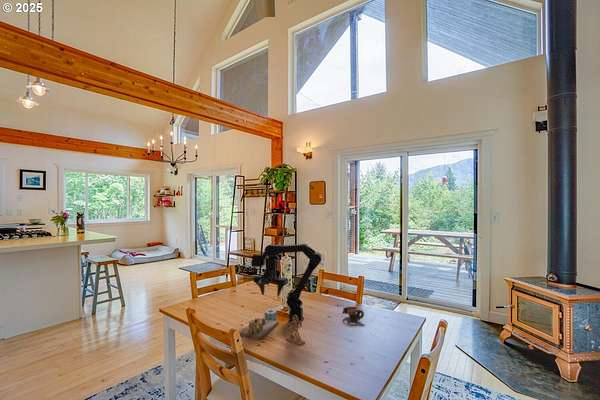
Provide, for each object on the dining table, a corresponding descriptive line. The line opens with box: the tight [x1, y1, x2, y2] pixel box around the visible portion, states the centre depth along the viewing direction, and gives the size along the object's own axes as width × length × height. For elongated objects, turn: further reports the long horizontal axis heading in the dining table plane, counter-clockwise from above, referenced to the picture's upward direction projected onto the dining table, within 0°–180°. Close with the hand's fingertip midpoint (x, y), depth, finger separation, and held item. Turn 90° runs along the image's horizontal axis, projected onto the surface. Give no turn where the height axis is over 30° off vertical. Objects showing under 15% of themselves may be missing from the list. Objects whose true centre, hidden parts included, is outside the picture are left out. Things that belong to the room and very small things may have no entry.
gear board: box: [239, 317, 279, 341], centre depth 143 cm, size 12×18×6 cm, turn 160°
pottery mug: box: [341, 306, 365, 324], centre depth 154 cm, size 12×10×8 cm
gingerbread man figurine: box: [285, 315, 306, 347], centre depth 131 cm, size 9×4×12 cm, turn 45°
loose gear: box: [264, 308, 278, 321], centre depth 156 cm, size 7×7×4 cm
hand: (270, 295), depth 156 cm, fingers open, 9 cm apart
